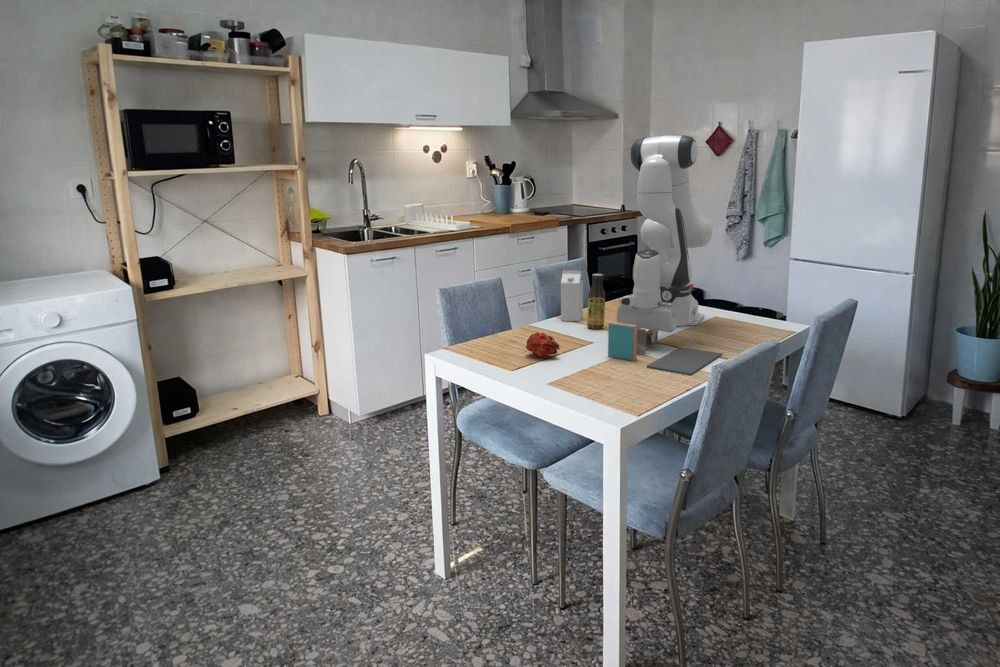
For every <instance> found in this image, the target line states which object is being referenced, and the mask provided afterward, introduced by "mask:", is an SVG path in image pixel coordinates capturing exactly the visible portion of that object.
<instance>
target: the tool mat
mask: <svg viewBox="0 0 1000 667" xmlns="http://www.w3.org/2000/svg"><path fill="white" fill-rule="evenodd" d="M721 355H722V356H723V353H722V352H716V351H709V350H702V349H697V348H689V347H686V346H685V347H683V346H679V347H678V348H675V349H673V350H672V351H670V352H669V353H667V354H665V355H663V356H662V357H660V358H657V359H656V360H655V361H653V362H651V363H649V364H647V365H646V368H647V367H648V368H647V369H652V368H654V369H653V370H657V369H659V370H658V371H663V370H665V371H664V372H668V371H670V373H674V372H676V373H675V374H679V373H682V374H681V375H685V374H687V376H690V375H691V376H693V375H694V374H695V373H698V372H699V371H700V370H702V369H703V368H705V367H706V366H708V365H709V364H711V363H713V362H714V361H715V360H717V359H719V358H720V357H722V356H721ZM719 356H720V357H719ZM718 357H719V358H718ZM692 374H693V375H692Z"/></svg>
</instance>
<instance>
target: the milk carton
mask: <svg viewBox="0 0 1000 667" xmlns="http://www.w3.org/2000/svg"><path fill="white" fill-rule="evenodd" d="M583 316H584V279H583V276H582V270H562V275H561V280H560V321H562V322H563V321H564V322H565V321H566V322H580V321H581V320H582V319H583Z"/></svg>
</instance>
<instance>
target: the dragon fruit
mask: <svg viewBox="0 0 1000 667" xmlns="http://www.w3.org/2000/svg"><path fill="white" fill-rule="evenodd" d="M559 344H560V343H558V342H557V341H555V338H554V337H553V336H550V335H547V334H546V333H544V332H541V333H540V332H537V331H536V332H534V333H532V334H530V336H529V337H528V339H527V340H526V346H525V348H526V350H527V351H528V352H531V353H532V356H533V357H534V358H536V357H537V356H538V357H541V358H544V357H547V358H548V359H552V356H549V355H557V353H558V350H561V346H560V345H559ZM547 358H546V359H547ZM544 359H545V358H544Z"/></svg>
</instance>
